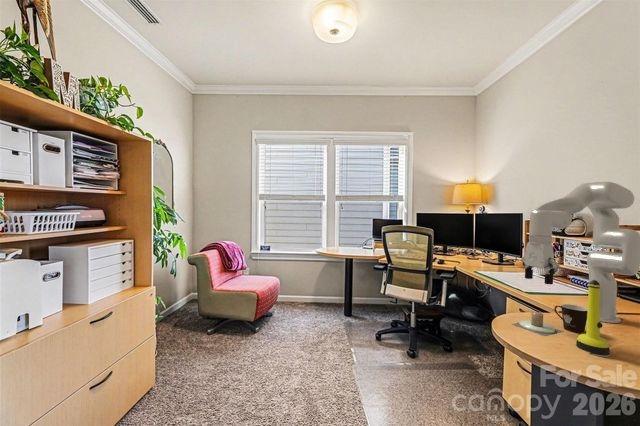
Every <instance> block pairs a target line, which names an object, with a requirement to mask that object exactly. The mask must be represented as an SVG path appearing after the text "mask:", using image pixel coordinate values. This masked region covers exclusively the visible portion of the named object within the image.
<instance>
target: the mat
mask: <svg viewBox="0 0 640 426" xmlns="http://www.w3.org/2000/svg"><path fill="white" fill-rule="evenodd" d="M511 325H512V326H514V327H517V328H520V329H523V330H526V331H528V332H532V333H535V334H538V335H540V336H542V337H547V336H551V335H556V334H559V333H564V332H565V331H564V330H561V329H559V328H555V333H551V334H547V333H539V332H534V331H530V330H528V329H525V328H523V327H521V326H520V322H516V323H515V322H514V323H512V324H511Z"/></svg>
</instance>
